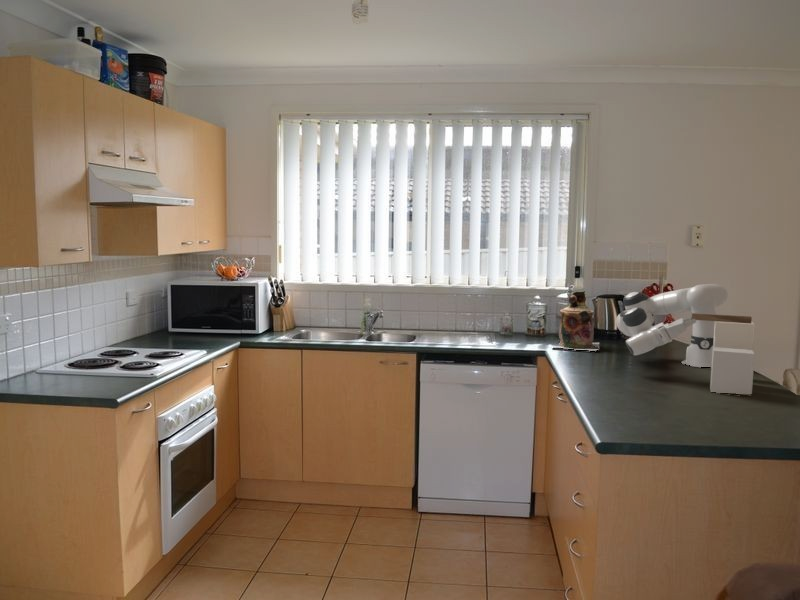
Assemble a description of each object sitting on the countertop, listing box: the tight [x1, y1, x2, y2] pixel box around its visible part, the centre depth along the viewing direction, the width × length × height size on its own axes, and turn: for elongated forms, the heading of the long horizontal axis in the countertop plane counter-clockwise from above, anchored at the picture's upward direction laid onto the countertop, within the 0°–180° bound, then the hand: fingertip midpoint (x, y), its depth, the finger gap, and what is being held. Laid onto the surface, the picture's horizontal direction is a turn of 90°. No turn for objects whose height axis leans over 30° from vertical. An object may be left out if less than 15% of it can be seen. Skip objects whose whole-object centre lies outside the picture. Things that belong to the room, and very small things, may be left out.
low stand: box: [709, 347, 756, 394], centre depth 254 cm, size 10×14×16 cm
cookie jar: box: [552, 289, 600, 352], centre depth 353 cm, size 25×25×32 cm
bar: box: [691, 312, 753, 323], centre depth 269 cm, size 3×22×2 cm, turn 67°
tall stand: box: [713, 321, 756, 352], centre depth 268 cm, size 10×14×26 cm
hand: (695, 318), depth 272 cm, fingers open, 8 cm apart
